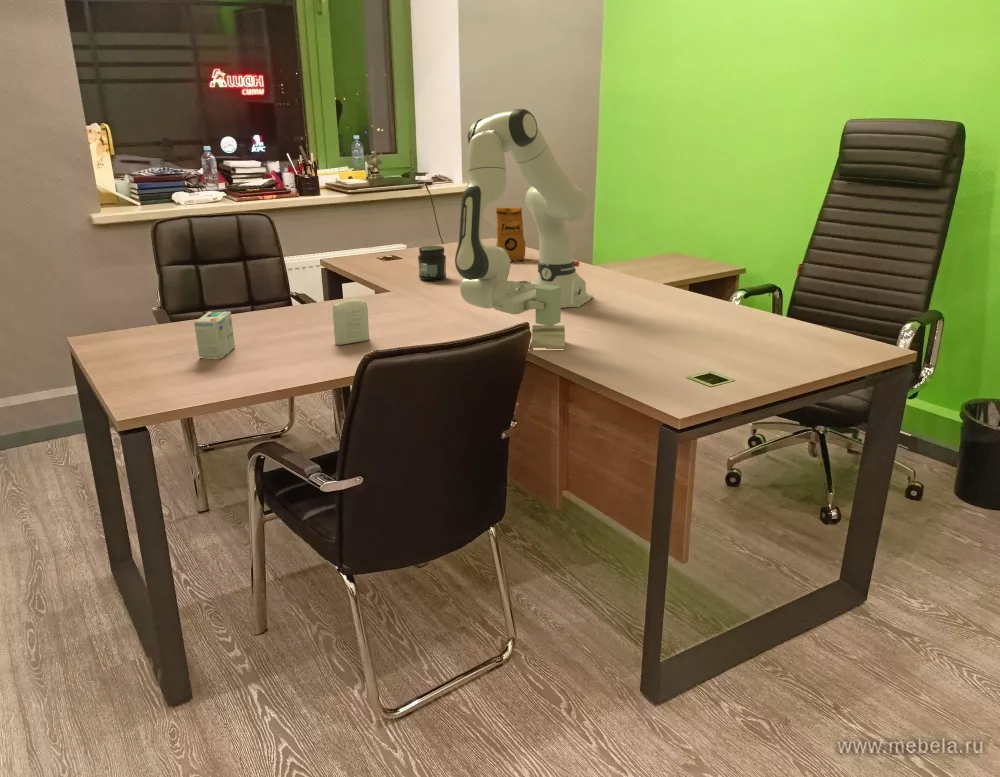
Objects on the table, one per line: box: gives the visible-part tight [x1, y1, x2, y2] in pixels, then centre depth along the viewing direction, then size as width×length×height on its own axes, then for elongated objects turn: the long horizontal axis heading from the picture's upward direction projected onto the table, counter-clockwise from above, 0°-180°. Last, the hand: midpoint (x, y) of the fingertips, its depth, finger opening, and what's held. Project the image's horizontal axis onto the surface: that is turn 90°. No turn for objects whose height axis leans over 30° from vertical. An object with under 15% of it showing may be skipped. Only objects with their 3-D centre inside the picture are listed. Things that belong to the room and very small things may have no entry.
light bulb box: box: [193, 310, 236, 358], centre depth 224 cm, size 11×7×11 cm, turn 178°
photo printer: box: [332, 298, 370, 346], centre depth 233 cm, size 10×4×12 cm, turn 123°
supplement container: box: [417, 245, 447, 282], centre depth 309 cm, size 10×10×12 cm
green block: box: [535, 285, 562, 326], centre depth 225 cm, size 5×5×10 cm
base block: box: [531, 324, 566, 350], centre depth 228 cm, size 9×9×5 cm
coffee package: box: [495, 207, 526, 261], centre depth 340 cm, size 10×12×22 cm
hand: (551, 303), depth 224 cm, fingers closed on green block, 5 cm apart
